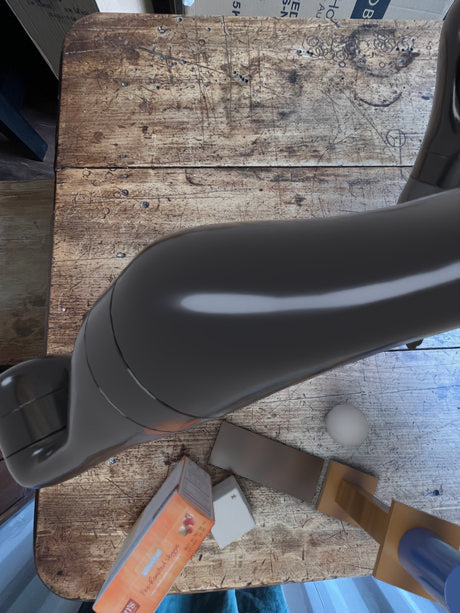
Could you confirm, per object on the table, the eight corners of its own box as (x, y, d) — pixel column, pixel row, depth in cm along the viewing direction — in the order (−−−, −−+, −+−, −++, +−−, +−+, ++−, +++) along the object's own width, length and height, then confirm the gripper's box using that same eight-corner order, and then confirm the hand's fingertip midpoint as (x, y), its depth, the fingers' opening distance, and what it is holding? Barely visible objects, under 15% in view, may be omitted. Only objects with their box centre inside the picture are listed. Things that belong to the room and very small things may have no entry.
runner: (207, 462, 61) (207, 462, 61) (222, 420, 63) (222, 420, 62) (310, 502, 61) (311, 503, 60) (323, 460, 62) (324, 460, 62)
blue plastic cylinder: (392, 568, 40) (438, 615, 32) (404, 520, 41) (452, 553, 33) (436, 586, 39) (493, 637, 32) (448, 537, 40) (506, 575, 33)
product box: (200, 494, 60) (199, 509, 53) (233, 473, 61) (236, 486, 54) (218, 530, 59) (220, 550, 52) (251, 509, 60) (258, 526, 53)
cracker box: (159, 554, 58) (132, 648, 38) (128, 529, 59) (86, 609, 38) (214, 476, 61) (217, 525, 40) (185, 452, 61) (173, 489, 41)
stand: (315, 508, 61) (374, 578, 39) (330, 459, 62) (395, 501, 41) (361, 526, 61) (446, 607, 39) (375, 476, 62) (464, 528, 41)
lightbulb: (345, 399, 64) (373, 404, 54) (349, 437, 63) (379, 448, 52) (310, 402, 64) (331, 407, 53) (314, 440, 63) (336, 452, 52)
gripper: (372, 229, 37) (328, 354, 46) (512, 247, 37) (442, 367, 46) (354, 204, 43) (318, 318, 52) (474, 220, 43) (418, 330, 52)
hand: (376, 341), depth 49 cm, fingers open, 8 cm apart
